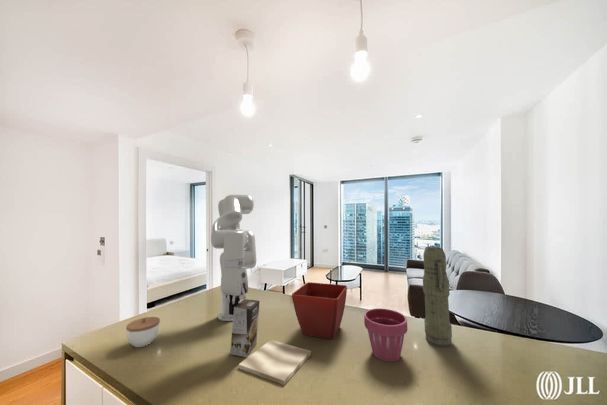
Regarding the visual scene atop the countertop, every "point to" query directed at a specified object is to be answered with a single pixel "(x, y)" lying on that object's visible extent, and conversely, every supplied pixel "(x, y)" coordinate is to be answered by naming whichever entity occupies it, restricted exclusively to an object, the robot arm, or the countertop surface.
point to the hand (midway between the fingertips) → (233, 313)
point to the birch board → (275, 361)
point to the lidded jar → (142, 331)
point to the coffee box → (244, 327)
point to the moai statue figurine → (436, 298)
